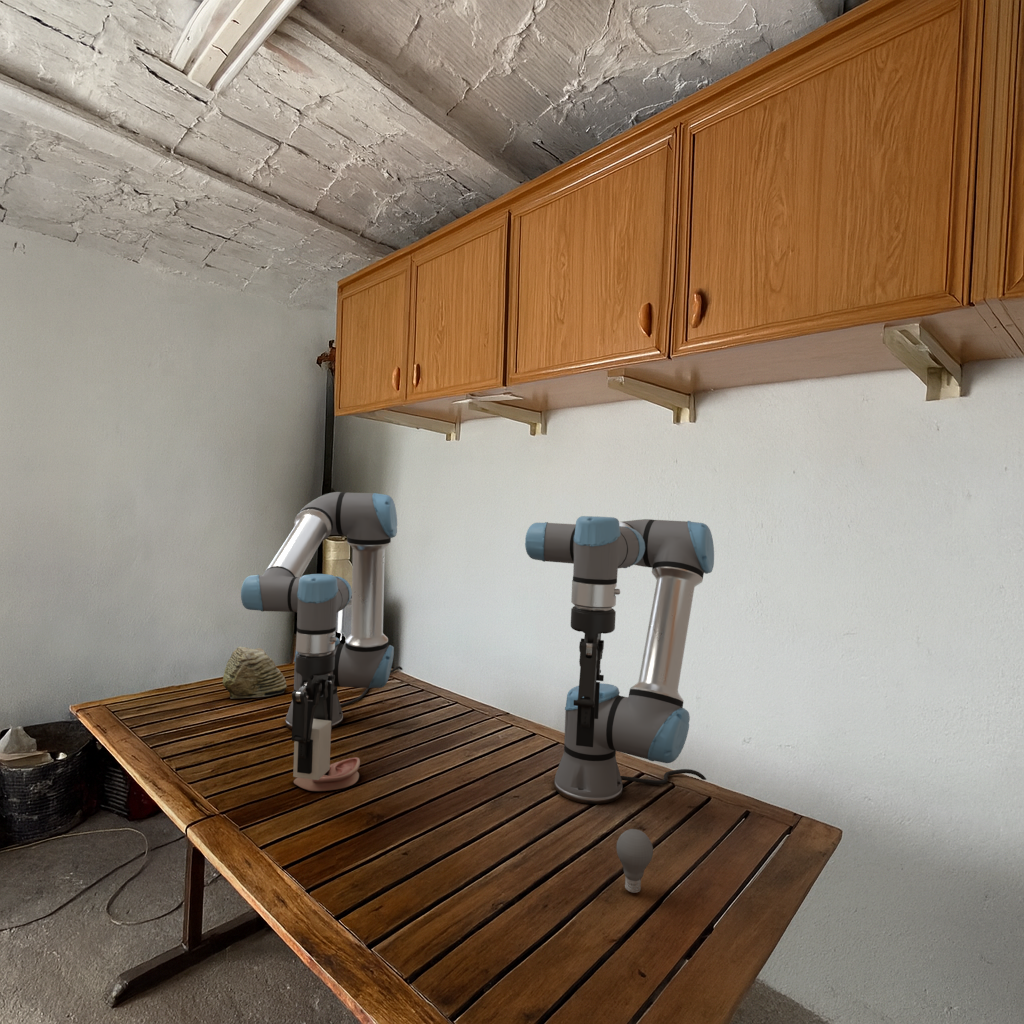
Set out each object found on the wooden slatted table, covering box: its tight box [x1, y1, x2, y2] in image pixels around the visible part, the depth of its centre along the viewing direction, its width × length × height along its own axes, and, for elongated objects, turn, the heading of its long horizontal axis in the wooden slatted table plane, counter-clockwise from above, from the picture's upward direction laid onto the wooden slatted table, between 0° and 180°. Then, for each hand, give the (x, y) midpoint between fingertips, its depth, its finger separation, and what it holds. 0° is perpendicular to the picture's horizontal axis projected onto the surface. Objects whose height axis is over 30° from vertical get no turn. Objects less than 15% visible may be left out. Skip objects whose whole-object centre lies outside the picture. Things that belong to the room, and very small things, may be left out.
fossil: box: [222, 646, 288, 699], centre depth 198 cm, size 9×18×15 cm, turn 132°
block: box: [292, 719, 332, 780], centre depth 128 cm, size 5×5×10 cm
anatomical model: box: [293, 757, 361, 792], centre depth 141 cm, size 13×4×12 cm
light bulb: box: [615, 828, 654, 894], centre depth 106 cm, size 6×6×10 cm
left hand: (311, 766), depth 128 cm, fingers closed on block, 5 cm apart
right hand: (587, 731), depth 108 cm, fingers open, 13 cm apart
